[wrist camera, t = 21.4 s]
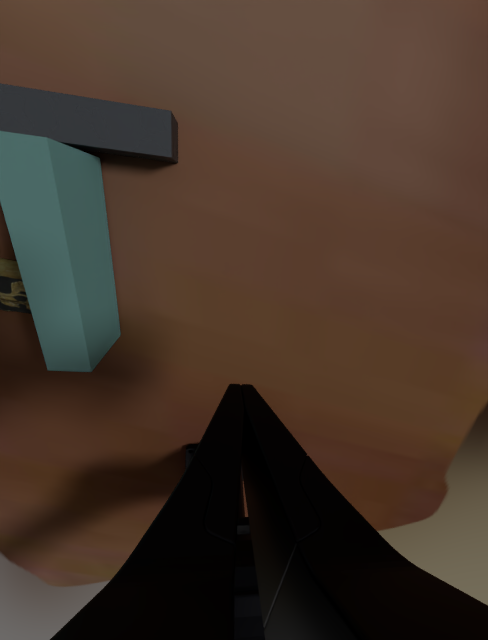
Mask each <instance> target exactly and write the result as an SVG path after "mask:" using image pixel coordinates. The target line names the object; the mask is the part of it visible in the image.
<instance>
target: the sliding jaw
mask: <svg viewBox="0 0 488 640" xmlns="http://www.w3.org/2000/svg"><path fill="white" fill-rule="evenodd" d="M0 202H1V206H2V209H3V213H4V217H5V220H6V224H7V227H8V231H9V234H10V238H11V241H12V245H13V248H14V252H15V256H16V259H17V263H18V266H19V270H20V273H21V277H22V280H23V284H24V288H25V291H26V295H27V298H28V302H29V305H30V309H31V312H32V316H33V320H34V323H35V327H36V330H37V334H38V337H39V341H40V344H41V348H42V352H43V355H44V359H45V362H46V366H47V369H48V370H50V371H76V372H92V371H93V369H94V368H95V367H96V366H97V364H98V363H99V362H100V361H101V359H102V358H103V357H104V356H105V354H106V353H107V352H108V351H109V349H110V348H111V347H112V345H113V344H114V343H115V342H116V340H117V339H118V338H119V337H120V335H121V332H120V324H119V315H118V307H117V298H116V290H115V282H114V273H113V265H112V256H111V248H110V239H109V231H108V223H107V214H106V206H105V197H104V189H103V180H102V172H101V164H100V158H99V157H96V156H93V155H91V154H88V153H86V152H83V151H80V150H78V149H75V148H73V147H70V146H68V145H65V144H62V143H60V142H57V141H55V140H52V139H49V138H47V137H40V136H33V135H26V134H18V133H11V132H4V131H0Z"/></svg>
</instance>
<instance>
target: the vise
mask: <svg viewBox="0 0 488 640" xmlns="http://www.w3.org/2000/svg"><path fill="white" fill-rule="evenodd" d="M0 131H4V132H11V133H18V134H26V135H33V136H40V137H47V138H49V139H52V140H55V141H57V142H60V143H62V144H65V145H68V146H70V147H73V148H75V149H78V150H85V151H92V152H99V153H107V154H114V155H121V156H129V157H136V158H143V159H151V160H158V161H165V162H173V163H178V123H177V121H176V119H175V117H174V115H173V114H172V112H171V111H168V110H162V109H156V108H149V107H143V106H137V105H131V104H124V103H118V102H112V101H106V100H99V99H93V98H87V97H81V96H75V95H68V94H62V93H56V92H50V91H43V90H37V89H31V88H25V87H19V86H12V85H6V84H0Z"/></svg>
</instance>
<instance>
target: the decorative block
mask: <svg viewBox="0 0 488 640" xmlns="http://www.w3.org/2000/svg"><path fill="white" fill-rule="evenodd" d="M0 309H1V310H4V311H17V312H23V313H29V314H32V312H31V309H30V305H29V302H28V298H27V295H26V291H25V288H24V284H23V280H22V277H21V273H20V270H19V266H18V263H17V261H13V260H8V259H3V258H0Z"/></svg>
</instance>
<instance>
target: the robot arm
mask: <svg viewBox="0 0 488 640" xmlns="http://www.w3.org/2000/svg"><path fill="white" fill-rule="evenodd" d="M243 481H244V488H245V495H246V502H247V510H248V517H245V511H244V496H243ZM50 640H488V605H486V604H484V603H482V602H480V601H478V600H477V599H475V598H473V597H471V596H469V595H468V594H466V593H464V592H462V591H460V590H459V589H457V588H454V587H453V586H451V585H449V584H447V583H446V582H444V581H442V580H440V579H438V578H437V577H435V576H433V575H431V574H429V573H428V572H426V571H424V570H422V569H420V568H419V567H417V566H416V565H414V564H413V563H411V562H410V561H408V560H407V559H406V558H405V557H403V556H402V555H401V554H400V553H398V552H397V551H396V550H395V549H394V548H393V547H392V546H391V545H390V544H389V543H388V542H387V541H386V540H385V539H384V538H383V537H382V536H381V535H380V534H379V533H378V532H377V531H376V530H375V529H374V528H373V527H372V526H371V525H370V524H369V523H368V522H367V520H366V519H365V518H364V517H363V516H362V515H361V514H360V513H359V512H358V511H357V510H356V509H355V508H354V507H353V506H352V505H351V504H350V503H349V502H348V501H347V500H346V498H345V497H344V496H343V495H342V494H341V493H340V492H339V491H338V490H337V489H336V488H335V487H334V485H333V484H332V483H331V482H330V481H329V480H328V479H327V478H326V476H325V475H324V474H323V473H322V472H321V470H320V469H319V468H318V467H317V466H316V464H315V463H314V462H313V461H312V459H311V458H310V457H309V456H307V453H306V452H305V451H304V449H303V448H302V447H301V446H300V444H299V443H298V442H297V441H296V439H295V438H294V437H293V436H292V434H291V433H290V432H289V431H288V429H287V428H286V427H285V426H284V424H283V423H282V422H281V420H280V419H279V418H278V417H277V415H276V414H275V413H274V412H273V410H272V409H271V408H270V407H269V405H268V404H267V403H266V402H265V400H264V399H263V398H262V397H261V395H260V394H259V393H258V392H257V390H256V389H255V388H254V387H253V385H250V384H242V385H240V384H230V385H229V386H228V388H227V390H226V392H225V394H224V396H223V398H222V400H221V402H220V404H219V406H218V408H217V410H216V412H215V414H214V415H213V417H212V419H211V421H210V423H209V425H208V427H207V429H206V431H205V433H204V435H203V437H202V439H201V441H200V443H199V445H188V446H187V447H186V470H185V472H184V474H183V475H182V477H181V479H180V481H179V483H178V484H177V486H176V487H175V489H174V491H173V492H172V494H171V495H170V497H169V499H168V500H167V502H166V503H165V505H164V506H163V508H162V509H161V511H160V512H159V514H158V515H157V517H156V518H155V520H154V521H153V523H152V524H151V525H150V527H149V528H148V530H147V531H146V533H145V534H144V536H143V537H142V539H141V540H140V542H139V543H138V545H137V546H136V548H135V549H134V551H133V552H132V554H131V555H130V556H129V558H128V559H127V561H126V562H125V563H124V565H123V566H122V567H121V569H120V570H119V571H118V572H117V574H116V575H115V576H114V577H113V578H112V579H111V581H110V582H109V583H108V584H107V585H106V586H105V587H104V588H103V589H102V590H101V591H100V592H99V593H98V594H97V595H96V596H95V597H94V598H93V599H92V600H91V601H90V602H89V603H88V604H87V605H85V606H84V607H83V608H82V609H81V610H80V611H79V612H78V613H77V614H76V615H75V616H74V617H73V618H72V619H71V620H70V621H69V622H68V623H67V624H66V625H65V626H64V627H63V628H62V629H61V630H60V631H59V632H57V633H56V634H55V635H54V636H53V637H52V638H51V639H50Z"/></svg>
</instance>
